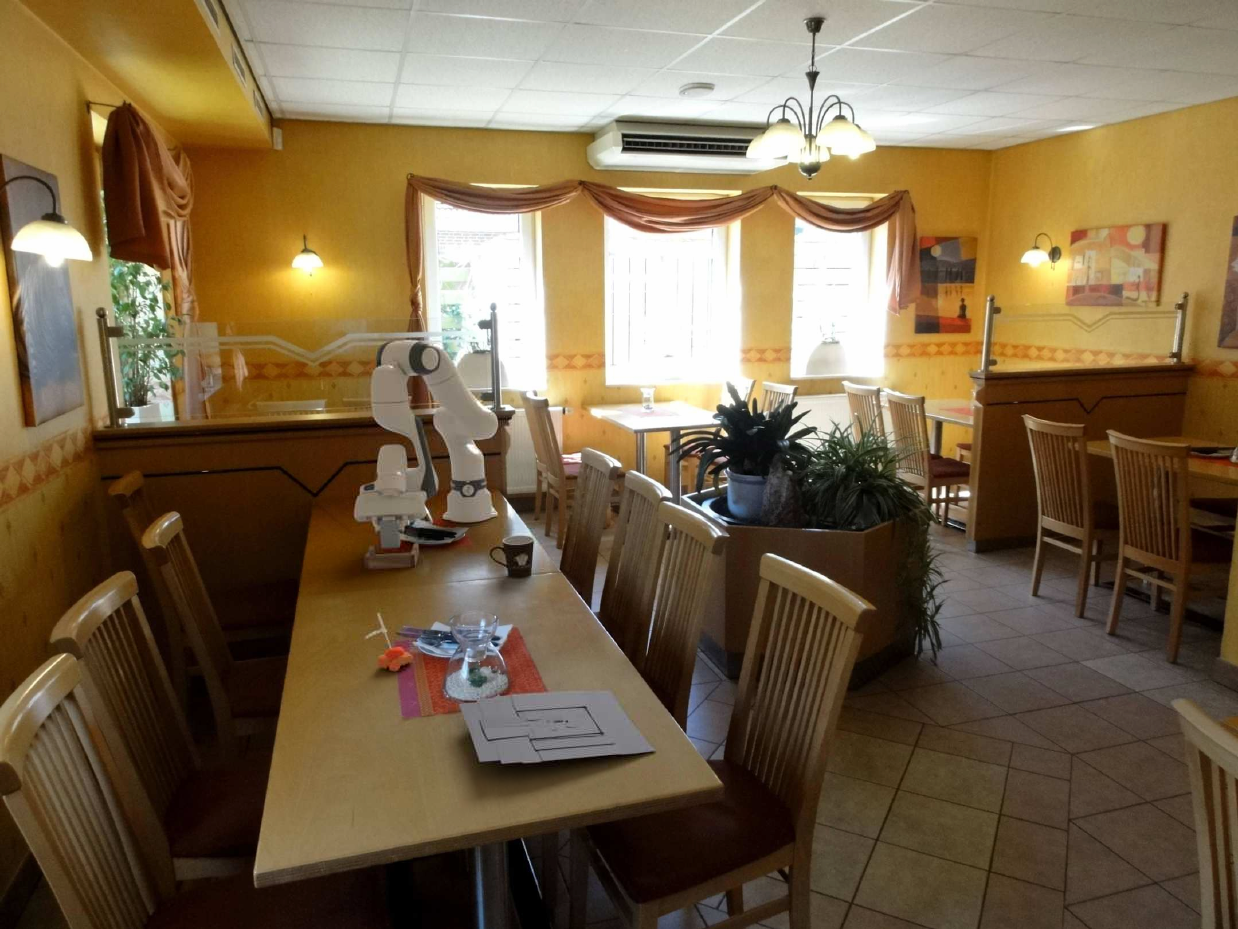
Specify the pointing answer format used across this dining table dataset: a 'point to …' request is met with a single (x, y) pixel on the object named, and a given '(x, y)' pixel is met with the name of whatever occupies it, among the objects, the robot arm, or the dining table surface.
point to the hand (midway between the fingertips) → (389, 531)
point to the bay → (390, 559)
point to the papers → (551, 727)
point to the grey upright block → (389, 532)
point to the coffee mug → (517, 555)
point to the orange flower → (391, 653)
